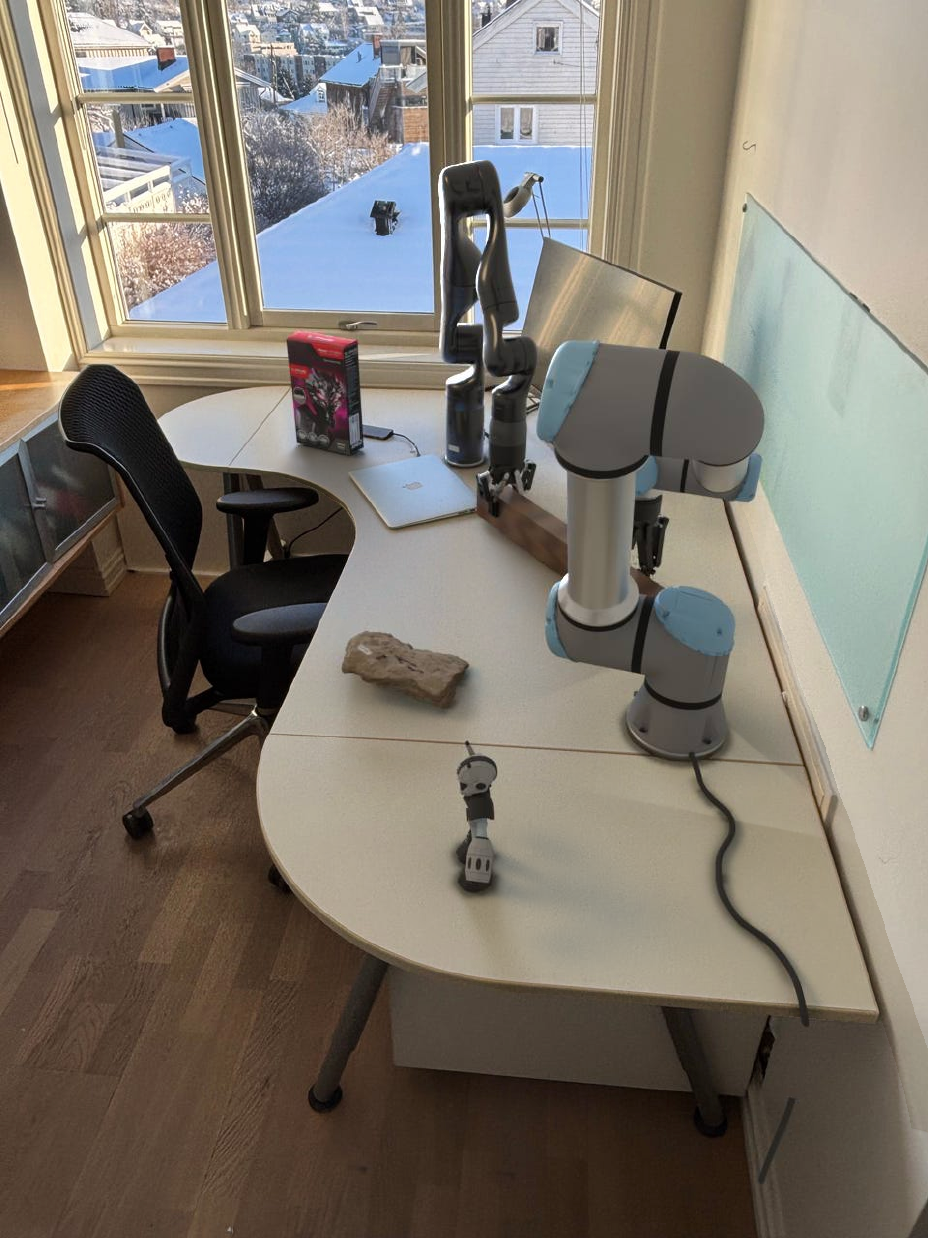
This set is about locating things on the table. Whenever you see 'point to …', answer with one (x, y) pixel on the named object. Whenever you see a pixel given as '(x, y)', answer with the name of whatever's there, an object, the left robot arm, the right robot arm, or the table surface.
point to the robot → (476, 819)
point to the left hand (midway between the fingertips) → (504, 512)
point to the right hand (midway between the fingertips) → (625, 606)
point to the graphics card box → (326, 391)
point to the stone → (404, 667)
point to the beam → (542, 534)
